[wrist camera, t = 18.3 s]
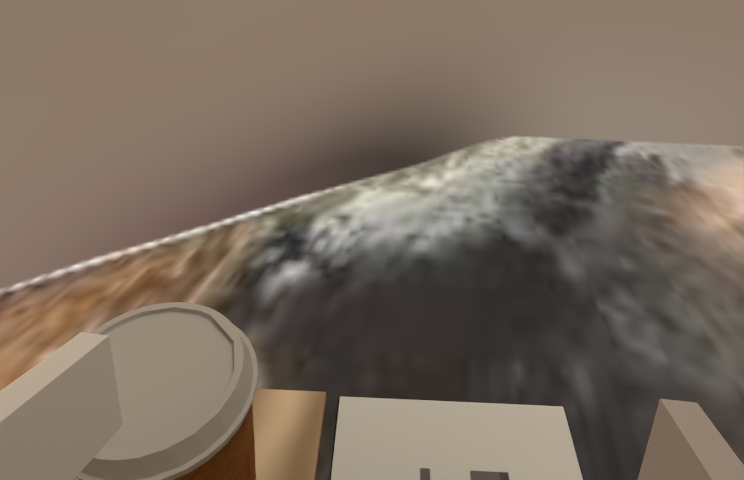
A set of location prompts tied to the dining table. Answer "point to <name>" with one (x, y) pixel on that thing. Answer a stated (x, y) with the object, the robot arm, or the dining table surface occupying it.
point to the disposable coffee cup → (179, 397)
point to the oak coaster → (287, 433)
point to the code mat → (451, 441)
